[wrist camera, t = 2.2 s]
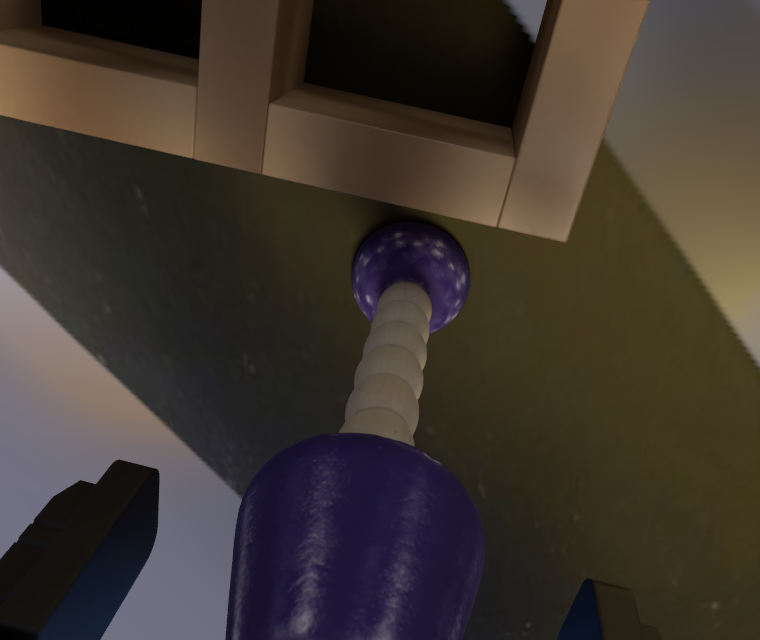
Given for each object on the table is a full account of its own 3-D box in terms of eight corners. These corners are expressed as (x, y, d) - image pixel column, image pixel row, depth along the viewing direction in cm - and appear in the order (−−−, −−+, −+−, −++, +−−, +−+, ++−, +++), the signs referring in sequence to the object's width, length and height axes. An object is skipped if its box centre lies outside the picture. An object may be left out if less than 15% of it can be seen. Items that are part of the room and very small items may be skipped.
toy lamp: (386, 186, 23) (201, 570, 8) (510, 242, 23) (549, 713, 8) (335, 301, 25) (120, 764, 10) (449, 351, 25) (396, 871, 11)
